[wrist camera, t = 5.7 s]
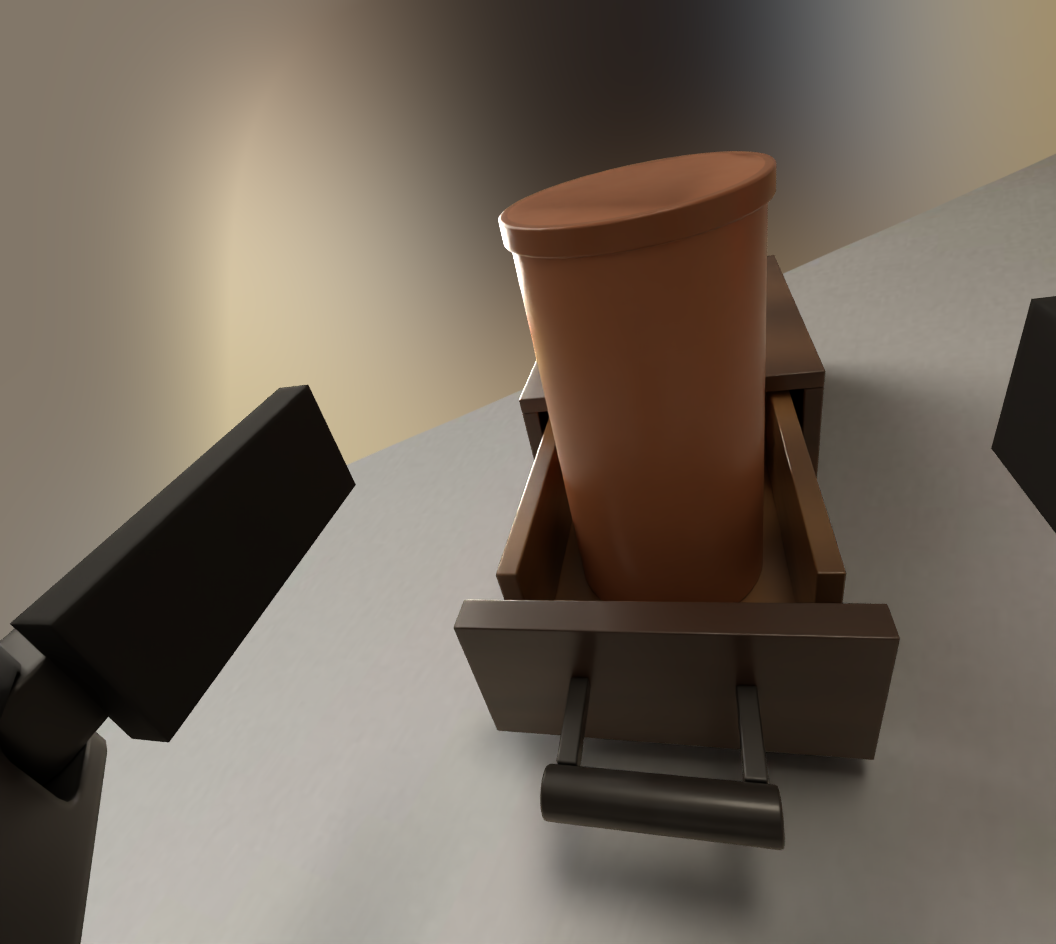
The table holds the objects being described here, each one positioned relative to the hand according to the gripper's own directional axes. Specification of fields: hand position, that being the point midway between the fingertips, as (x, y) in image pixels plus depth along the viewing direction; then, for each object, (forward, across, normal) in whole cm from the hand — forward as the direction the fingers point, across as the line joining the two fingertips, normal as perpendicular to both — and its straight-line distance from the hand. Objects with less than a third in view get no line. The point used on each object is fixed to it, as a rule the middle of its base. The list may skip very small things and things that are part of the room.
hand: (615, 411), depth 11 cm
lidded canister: (+9, 0, -13) cm, 16 cm away
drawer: (+7, 0, -14) cm, 15 cm away
